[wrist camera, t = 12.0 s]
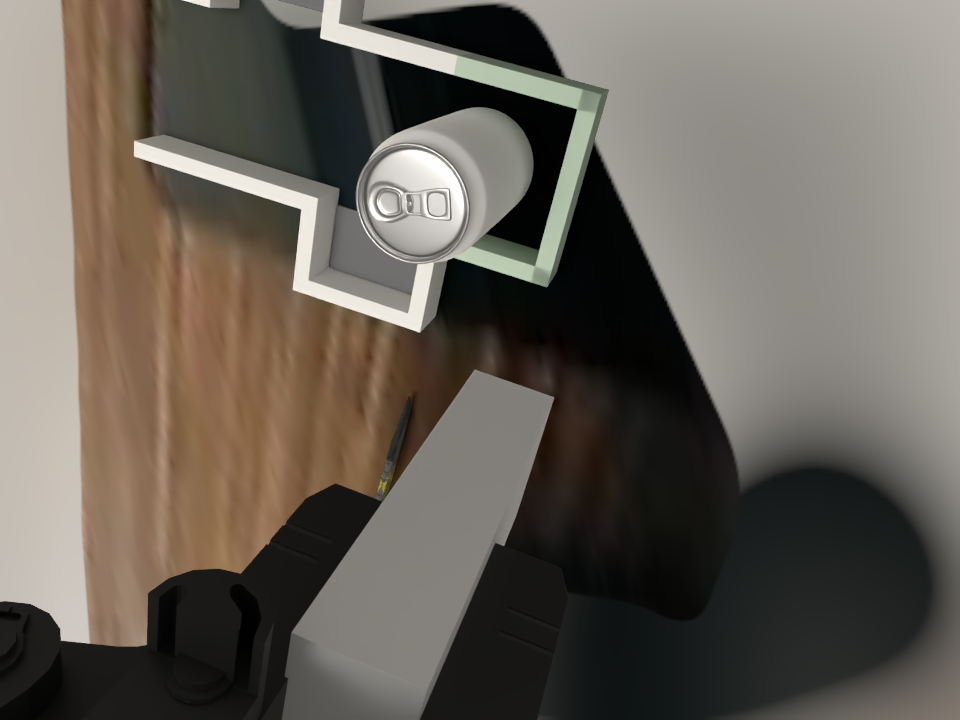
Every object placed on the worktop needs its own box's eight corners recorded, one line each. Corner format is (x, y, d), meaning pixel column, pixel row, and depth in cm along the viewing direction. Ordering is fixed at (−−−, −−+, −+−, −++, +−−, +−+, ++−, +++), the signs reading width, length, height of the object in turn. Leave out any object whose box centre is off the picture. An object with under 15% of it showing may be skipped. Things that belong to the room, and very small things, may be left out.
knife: (416, 373, 55) (392, 397, 50) (435, 380, 55) (413, 405, 50) (348, 613, 64) (322, 652, 59) (364, 620, 63) (340, 660, 59)
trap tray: (163, 225, 53) (134, 236, 50) (169, -135, 43) (134, -145, 40) (534, 348, 49) (524, 367, 46) (639, -20, 39) (634, -23, 36)
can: (429, 106, 44) (339, 132, 34) (535, 105, 43) (476, 133, 32) (435, 213, 47) (354, 269, 36) (535, 217, 45) (480, 276, 35)
